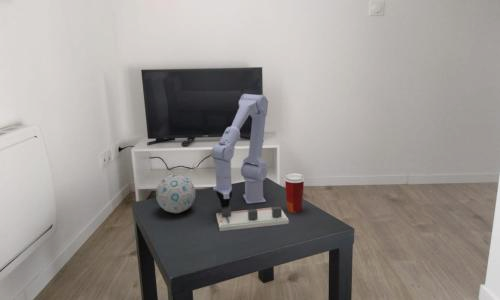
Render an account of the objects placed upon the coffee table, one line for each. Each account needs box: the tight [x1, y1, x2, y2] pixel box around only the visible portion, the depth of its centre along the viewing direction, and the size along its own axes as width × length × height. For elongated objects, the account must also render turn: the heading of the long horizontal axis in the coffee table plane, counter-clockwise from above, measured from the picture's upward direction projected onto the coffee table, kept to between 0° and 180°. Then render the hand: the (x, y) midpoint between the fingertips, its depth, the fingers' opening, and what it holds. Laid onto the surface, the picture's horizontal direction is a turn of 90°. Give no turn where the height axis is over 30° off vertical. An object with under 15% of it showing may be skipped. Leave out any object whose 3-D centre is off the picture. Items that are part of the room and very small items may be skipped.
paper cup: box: [283, 172, 306, 214], centre depth 146 cm, size 8×8×14 cm
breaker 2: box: [247, 208, 258, 220], centre depth 136 cm, size 2×3×3 cm, turn 101°
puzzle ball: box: [155, 173, 196, 214], centre depth 147 cm, size 15×15×15 cm
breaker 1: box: [220, 205, 232, 217], centre depth 139 cm, size 2×3×3 cm, turn 101°
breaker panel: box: [215, 207, 290, 232], centre depth 139 cm, size 12×25×2 cm, turn 101°
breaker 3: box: [271, 206, 283, 217], centre depth 138 cm, size 2×3×3 cm, turn 101°
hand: (225, 209), depth 143 cm, fingers closed
